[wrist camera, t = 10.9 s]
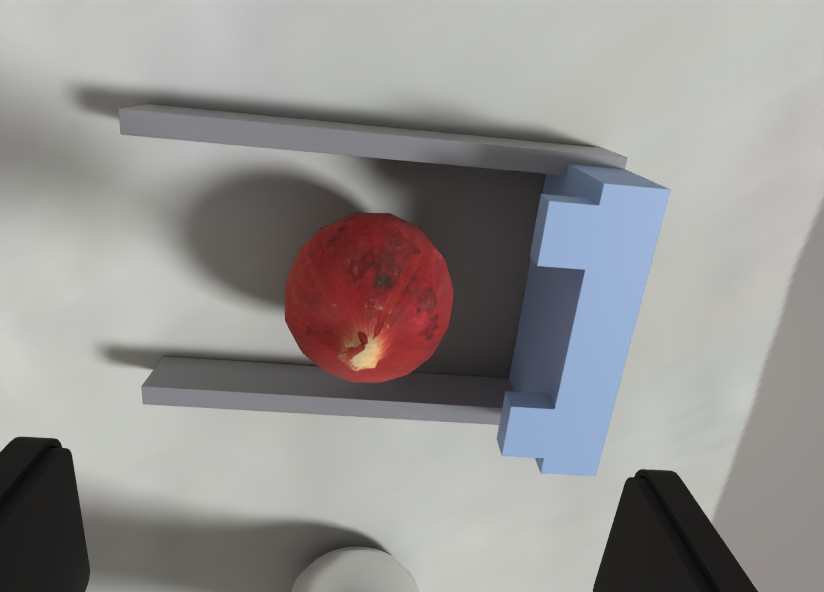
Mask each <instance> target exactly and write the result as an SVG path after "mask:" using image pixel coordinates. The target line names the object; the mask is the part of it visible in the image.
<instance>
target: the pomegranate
mask: <svg viewBox="0 0 824 592" xmlns="http://www.w3.org/2000/svg"><path fill="white" fill-rule="evenodd" d="M453 296H454V289H453V285H452V282H451V278H450V274H449V271H448V267H447V263H446V260H445V259H444V257H443V256H442V255H441V254H440V252H439V251H438V250H437V249H436V247H435V246H434V245H433V244H432V242H431V241H430V240H429V238H428V237H427V236H426V235H425V233H424V232H423V231H422V229H421V228H419V227H417V226H415V225H413V224H411V223H408V222H406V221H404V220H402V219H400V218H398V217H396V216H394V215H392V214H390V213H355V214H352V215H350V216H348V217H346V218H343V219H341V220H339V221H337V222H334V223H332V224H330V225H327V226H325V227H323V228H321V229H320V230H319V231H318V232H317V233H316V234H315V235H314V236H313V237H312V238H311V239H310V240H309V241H308V242H307V243H306V244H305V245H304V246H303V247H302V248H301V249H300V250H299V251H298V253H297V256H296V258H295V261H294V263H293V266H292V268H291V271H290V273H289V276H288V278H287V281H286V287H285V321H286V323H287V326H288V328H289V329H290V331H291V333H292V335H293V337H294V339H295V341H296V343H297V344H298V346H299V348H300V350H301V351H302V352H303V354H305V355H306V356H307V357H308V358H309V359H310V360H312V361H313V362H314V363H315V364H316V365H317V366H319V367H320V368H321V369H322V370H323V371H325V372H327V373H330V374H332V375H335V376H338V377H340V378H343V379H345V380H348V381H350V382H370V383H380V382H384V381H387V380H391V379H394V378H398V377H402V376H405V375H408V374H410V373H411V372H412V371H414V370H415V369H416V368H417V367H419V366H420V365H421V364H423V363H424V362H425V361H426V360H428V359H429V358H430V357H432V355H433V354H434V352H435V350H436V348H437V347H438V345H439V343H440V341H441V340H442V338H443V336H444V334H445V333H446V331H447V329H448V327H449V322H450V316H451V310H452V304H453Z"/></svg>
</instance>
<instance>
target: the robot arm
mask: <svg viewBox="0 0 824 592" xmlns="http://www.w3.org/2000/svg"><path fill="white" fill-rule="evenodd" d="M89 575H90V567H89V560H88V554H87V548H86V541H85V535H84V529H83V522H82V516H81V510H80V503H79V497H78V491H77V484H76V478H75V472H74V465H73V459H72V454H71V451H70V450H69V449H67V448H62V446H61V443H60V442H59V440H57V439H54V438H36V437H17V438H14V439H13V440H12V441H11V442H10V443H9V444H8V445H7V446H6V447H5V448H4V449H3V450H2V451H1V452H0V592H85V590H86V588H87V585H88V581H89ZM593 592H758V591H757V590H756V588H755V587H754V585H753V584H752V582H751V581H750V579H749V578H748V576H747V575H746V573H745V572H744V571H743V569H742V568H741V566H740V565H739V563H738V562H737V560H736V559H735V557H734V556H733V555H732V553H731V552H730V550H729V549H728V547H727V546H726V544H725V543H724V541H723V540H722V538H721V537H720V535H719V534H718V533H717V531H716V530H715V528H714V527H713V525H712V524H711V522H710V521H709V519H708V518H707V516H706V515H705V513H704V512H703V510H702V509H701V507H700V506H699V505H698V503H697V502H696V500H695V499H694V497H693V496H692V494H691V493H690V491H689V490H688V488H687V487H686V486H685V484H684V483H683V481H682V480H681V478H680V477H679V476H678V475H677V473H675V472H673V471H665V470H646V469H642V470H639V471H638V472H637V473H636V474H635V477H630V478H628V479H627V480H626V482H625V485H624V488H623V492H622V495H621V498H620V501H619V505H618V508H617V511H616V515H615V518H614V521H613V524H612V528H611V531H610V534H609V538H608V541H607V544H606V548H605V551H604V554H603V557H602V561H601V564H600V567H599V571H598V574H597V577H596V580H595V584H594V588H593Z"/></svg>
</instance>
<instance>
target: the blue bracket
mask: <svg viewBox="0 0 824 592" xmlns="http://www.w3.org/2000/svg"><path fill="white" fill-rule="evenodd" d="M669 193H670V189H668V188H666V187H663V186H661V185H659V184H657V183H654V182H652V181H650V180H648V179H645V178H643V177H641V176H639V175H637V174H634V173H632V172H630V171H628V170H625V169H617V168H606V167H596V166H585V165H574V164H569V165H568V170H567V175H555V174H546V177H545V182H544V188H543V193H542V194H541V196H540V202H539V207H538V213H537V219H536V224H535V230H534V235H533V241H532V246H531V252H530V257H531V260H530V265H529V271H528V276H527V282H526V287H525V293H524V298H523V304H522V309H521V315H520V320H519V326H518V331H517V337H516V343H515V348H514V354H513V359H512V365H511V370H510V376H509V380H510V382H511V385H512V387H513V390H514V392H511V391H505V396H504V402H503V408H502V413H501V419H500V424H499V430H498V435H497V441H498V444H499V448H500V451H501V454H502V456H512V457H530V458H535V459H536V462H537V465H538V467H539V470H540V472H541V473H543V474H562V475H582V476H596V473H597V469H598V465H599V461H600V458H601V454H602V450H603V446H604V442H605V439H606V435H607V431H608V427H609V423H610V419H611V416H612V412H613V408H614V404H615V400H616V396H617V393H618V389H619V385H620V381H621V377H622V373H623V370H624V366H625V362H626V358H627V354H628V350H629V347H630V343H631V339H632V335H633V331H634V327H635V324H636V320H637V316H638V312H639V308H640V304H641V301H642V297H643V293H644V289H645V285H646V281H647V278H648V274H649V270H650V266H651V262H652V258H653V255H654V251H655V247H656V243H657V239H658V235H659V232H660V228H661V224H662V220H663V216H664V212H665V209H666V205H667V201H668V197H669Z"/></svg>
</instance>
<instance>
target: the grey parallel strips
mask: <svg viewBox="0 0 824 592" xmlns="http://www.w3.org/2000/svg"><path fill="white" fill-rule="evenodd" d="M119 120H120V132H121V134H122V135H133V136H144V137H154V138H165V139H176V140H187V141H198V142H208V143H219V144H230V145H241V146H252V147H263V148H273V149H284V150H295V151H306V152H317V153H327V154H338V155H349V156H360V157H371V158H382V159H392V160H403V161H414V162H425V163H436V164H447V165H457V166H468V167H479V168H490V169H501V170H511V171H522V172H533V173H544V174H555V175H567V170H568V165H569V164H574V165H585V166H596V167H606V168H617V169H625V166H626V162H627V157H625V156H622V155H620V154H617V153H614V152H612V151H609V150H607V149H604V148H600V147H589V146H579V145H569V144H558V143H548V142H538V141H527V140H517V139H507V138H496V137H486V136H476V135H465V134H455V133H445V132H434V131H424V130H414V129H403V128H393V127H383V126H372V125H362V124H352V123H341V122H331V121H320V120H310V119H300V118H289V117H279V116H269V115H258V114H248V113H238V112H227V111H217V110H207V109H196V108H186V107H176V106H165V105H155V104H144V105H138V106H132V107H127V108H121V109H119ZM141 387H142V399H143V404H150V405H167V406H184V407H201V408H219V409H236V410H253V411H270V412H288V413H305V414H322V415H339V416H357V417H374V418H391V419H408V420H425V421H443V422H460V423H477V424H494V425H499V424H500V419H501V413H502V408H503V402H504V396H505V391H511V392H514V390H513V387H512V385H511V382H510V380H509V378H494V377H479V376H463V375H448V374H432V373H417V372H411V373H410V374H408V375H405V376H402V377H398V378H394V379H391V380H387V381H384V382H380V383H370V382H350V381H348V380H345V379H343V378H340V377H338V376H335V375H332V374H330V373H327V372H325V371H323V370H322V369H321V368H320V367H319V366H308V365H292V364H277V363H261V362H246V361H230V360H215V359H199V358H184V357H168V356H164V357H163V358H162V360H161V361H160V362H159V364H158V365H157V366H156V368H155V369H154V370H153V372H152V373H151V374H150V376H149V377H148V378H147V380H146V381H145V382H144V384H143V385H142V386H141Z"/></svg>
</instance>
